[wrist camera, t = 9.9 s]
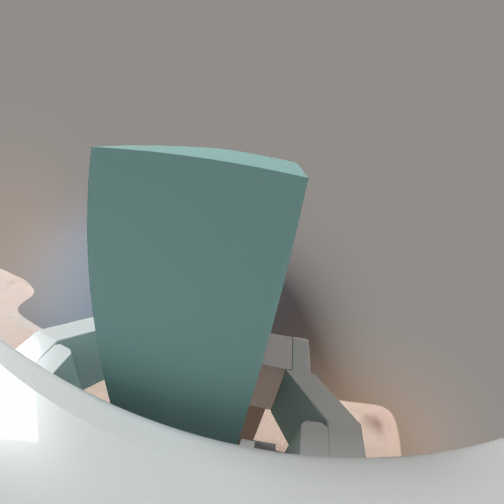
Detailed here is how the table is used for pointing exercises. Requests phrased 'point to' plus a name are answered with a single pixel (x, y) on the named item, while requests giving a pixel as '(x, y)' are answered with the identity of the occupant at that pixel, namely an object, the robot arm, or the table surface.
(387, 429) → the table surface
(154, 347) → the teal rectangular block
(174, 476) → the robot arm
